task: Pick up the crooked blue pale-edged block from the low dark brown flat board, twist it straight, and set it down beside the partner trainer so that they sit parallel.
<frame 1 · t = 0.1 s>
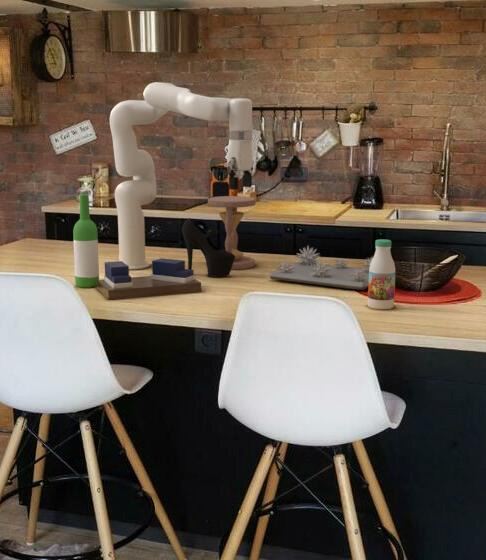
hand: (240, 188, 265), 31 cm above the countertop, tool pointing down, fingers open, 9 cm apart
wine bottle: (87, 286, 259), on the countertop
dark brown flat board: (149, 290, 253), on the countertop
blue pale-edged block: (172, 279, 256), point 3 cm above the countertop, touching dark brown flat board
partner trainer: (118, 283, 249), point 3 cm above the countertop, touching dark brown flat board
milk bottle: (380, 307, 234), on the countertop
decorative tray: (329, 280, 271), on the countertop
high-heeled shoe: (209, 275, 277), on the countertop
hourglass: (231, 265, 295), on the countertop
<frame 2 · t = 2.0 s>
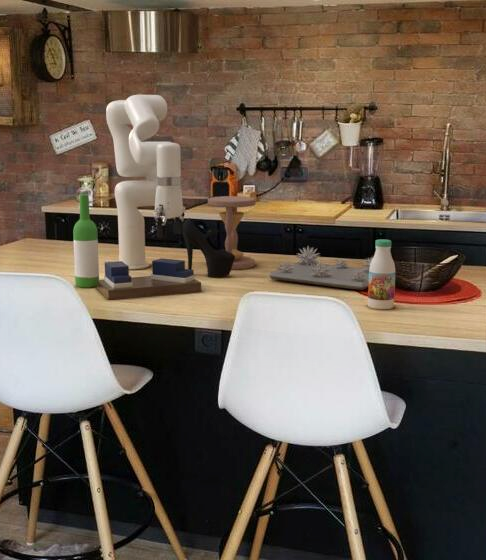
hand: (170, 235, 253), 17 cm above the countertop, tool pointing down, fingers open, 9 cm apart
nothing on the countertop moved.
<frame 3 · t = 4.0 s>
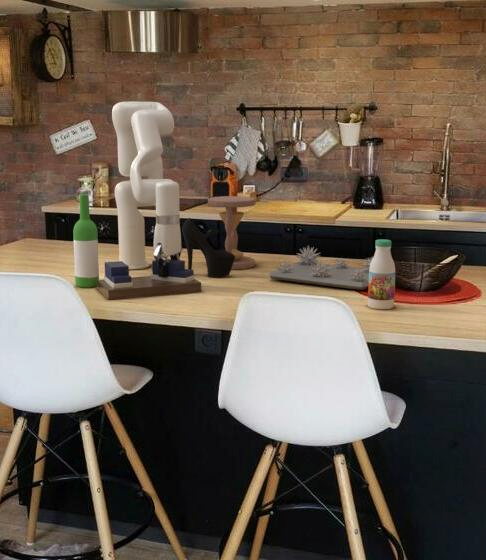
hand: (168, 274, 256), 4 cm above the countertop, tool pointing down, fingers closed on blue pale-edged block, 6 cm apart
blue pale-edged block: (172, 279, 256), point 3 cm above the countertop, touching gripper, dark brown flat board
everything else where it was.
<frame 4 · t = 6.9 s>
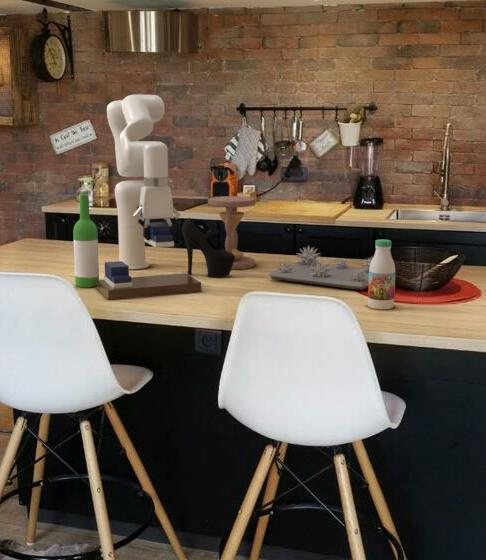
hand: (157, 238, 252), 16 cm above the countertop, tool pointing down, fingers closed on blue pale-edged block, 6 cm apart
blue pale-edged block: (158, 243, 251), point 15 cm above the countertop, touching gripper
everything else where it was.
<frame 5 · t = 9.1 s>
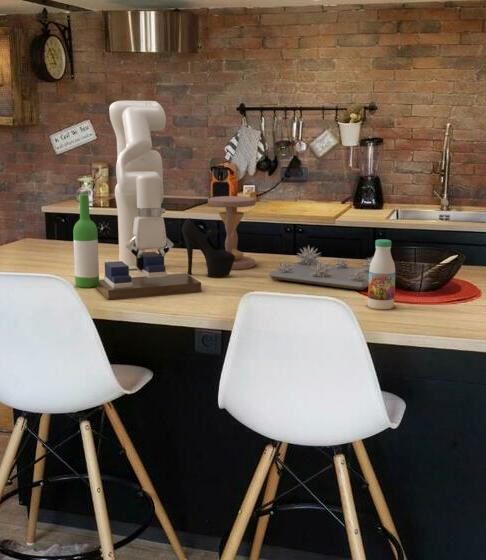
hand: (150, 268, 253), 7 cm above the countertop, tool pointing down, fingers closed on blue pale-edged block, 6 cm apart
blue pale-edged block: (151, 273, 252), point 6 cm above the countertop, touching gripper
everything else where it was.
when the fingers open (4 cm above the countertop, at t = 10.3 s): blue pale-edged block stays where it is, resting on dark brown flat board.
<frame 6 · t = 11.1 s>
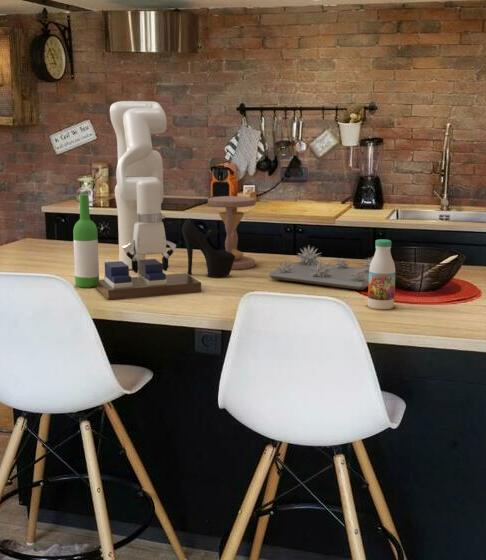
hand: (150, 271, 254), 6 cm above the countertop, tool pointing down, fingers open, 9 cm apart
blue pale-edged block: (151, 281, 253), point 3 cm above the countertop, touching dark brown flat board
everything else where it was.
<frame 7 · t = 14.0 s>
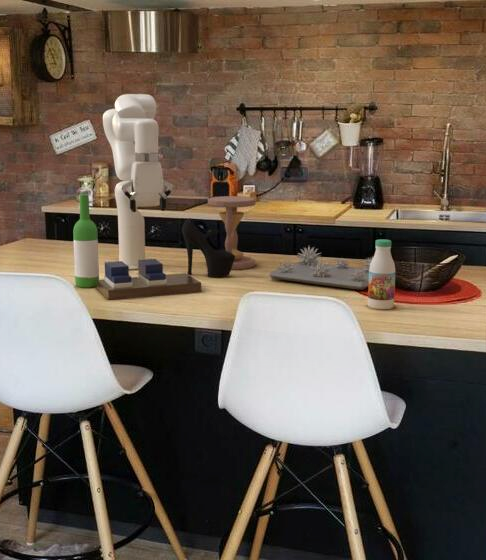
hand: (148, 211, 258), 24 cm above the countertop, tool pointing down, fingers open, 9 cm apart
nothing on the countertop moved.
at the end: blue pale-edged block 0.1 cm from the target spot, point 3.0 cm above the countertop; blue pale-edged block tilted 0°; partner trainer moved 0.0 cm from its start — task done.
